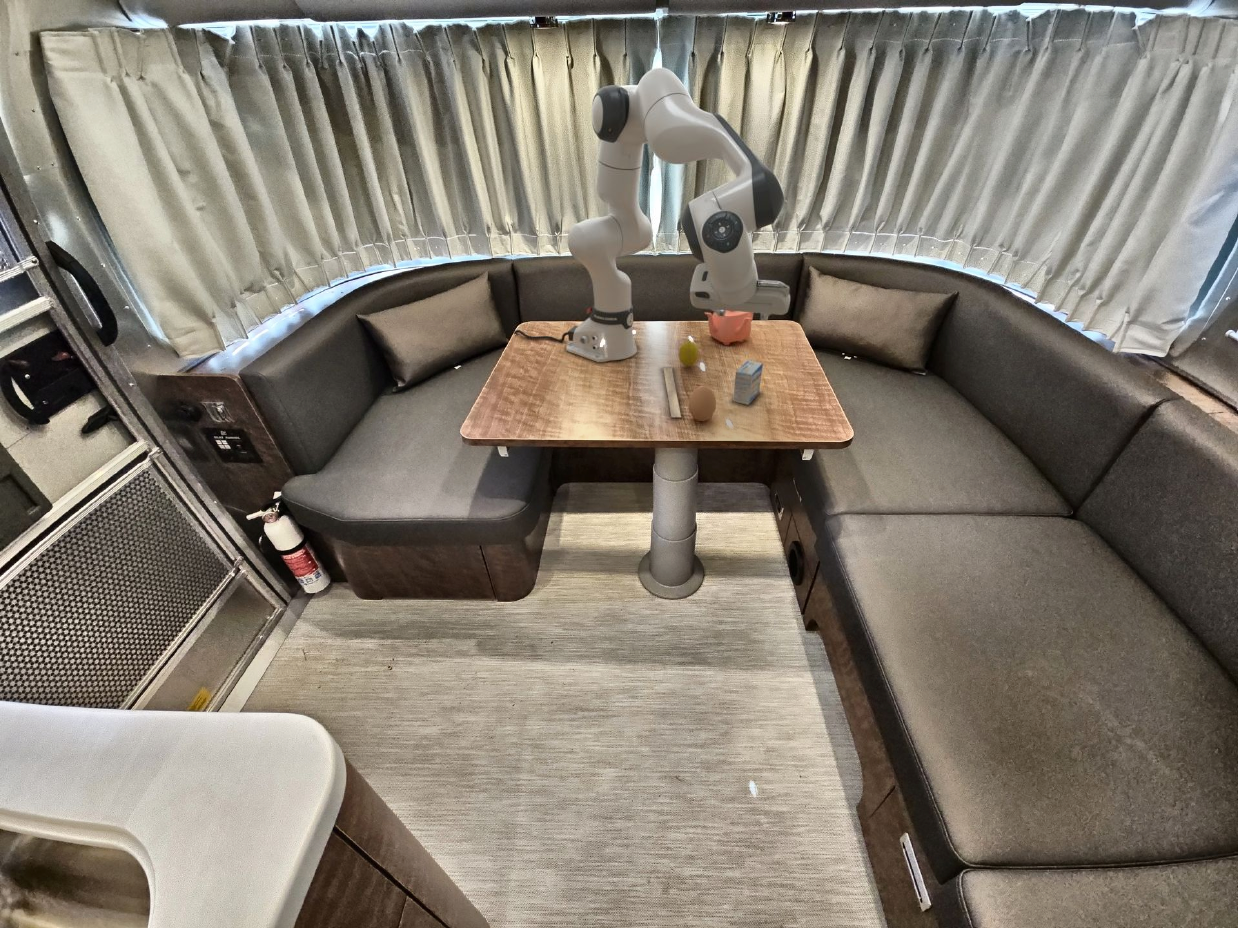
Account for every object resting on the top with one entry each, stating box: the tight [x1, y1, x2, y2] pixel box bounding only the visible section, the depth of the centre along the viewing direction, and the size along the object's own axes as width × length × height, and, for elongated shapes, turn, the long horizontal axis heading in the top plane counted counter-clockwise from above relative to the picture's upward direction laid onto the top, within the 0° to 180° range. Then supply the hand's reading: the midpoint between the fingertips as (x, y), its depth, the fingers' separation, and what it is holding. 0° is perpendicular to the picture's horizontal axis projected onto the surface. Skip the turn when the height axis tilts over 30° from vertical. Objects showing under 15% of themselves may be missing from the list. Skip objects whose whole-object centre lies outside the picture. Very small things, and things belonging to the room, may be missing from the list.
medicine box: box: [732, 360, 764, 406], centre depth 137 cm, size 8×4×9 cm, turn 148°
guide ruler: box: [662, 367, 682, 419], centre depth 143 cm, size 2×28×1 cm, turn 0°
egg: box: [687, 385, 717, 422], centre depth 129 cm, size 7×7×9 cm
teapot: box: [704, 310, 754, 346], centre depth 169 cm, size 14×14×11 cm
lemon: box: [678, 340, 699, 368], centre depth 153 cm, size 6×6×8 cm
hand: (743, 315), depth 117 cm, fingers open, 8 cm apart
